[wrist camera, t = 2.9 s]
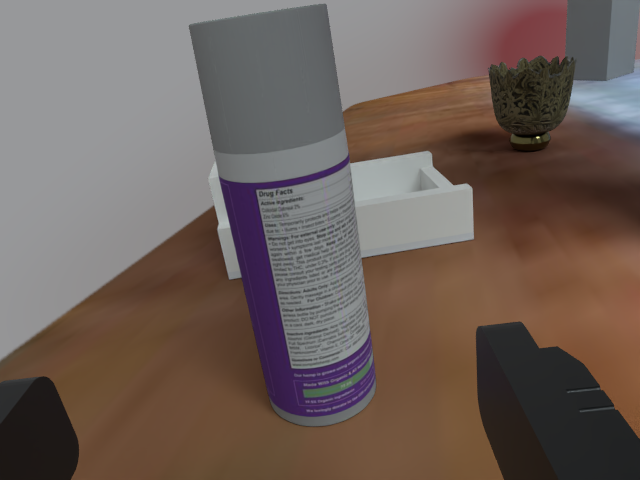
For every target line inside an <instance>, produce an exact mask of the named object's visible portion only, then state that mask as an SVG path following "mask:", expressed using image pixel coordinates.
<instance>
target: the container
mask: <svg viewBox="0 0 640 480" xmlns="http://www.w3.org/2000/svg"><path fill="white" fill-rule="evenodd" d="M189 29H190V34H191V39H192V44H193V49H194V54H195V59H196V64H197V69H198V74H199V79H200V84H201V89H202V94H203V99H204V104H205V109H206V114H207V119H208V124H209V129H210V134H211V139H212V144H213V150H214V155H215V159H216V165H217V170H218V176H219V181H220V185H221V189H222V194H223V198H224V203H225V207H226V211H227V216H228V220H229V225H230V229H231V233H232V238H233V242H234V247H235V251H236V255H237V260H238V264H239V268H240V273H241V277H242V282H243V286H244V290H245V295H246V299H247V304H248V308H249V312H250V317H251V321H252V325H253V330H254V334H255V339H256V343H257V347H258V352H259V356H260V361H261V365H262V369H263V374H264V378H265V383H266V387H267V391H268V395H269V399H270V403H271V405H272V407H273V409H274V411H275V412H276V413H277V414H278V415H279V416H281V417H282V418H284V419H285V420H287V421H289V422H292V423H294V424H298V425H303V426H327V425H331V424H335V423H339V422H342V421H344V420H347V419H349V418H351V417H353V416H354V415H356V414H357V413H359V412H360V411H361V410H363V409H364V408H365V407H366V406H367V405H368V403H369V402H370V401H371V399H372V398H373V395H374V393H375V390H376V377H375V367H374V359H373V350H372V342H371V334H370V325H369V317H368V309H367V300H366V292H365V284H364V275H363V267H362V259H361V250H360V242H359V234H358V225H357V217H356V209H355V201H354V192H353V184H352V176H351V167H350V159H349V152H348V146H347V139H346V133H345V126H344V119H343V112H342V106H341V99H340V92H339V85H338V79H337V72H336V65H335V58H334V52H333V46H332V39H331V31H330V25H329V18H328V11H327V5H326V4H318V5H310V6H304V7H296V8H290V9H282V10H275V11H269V12H262V13H256V14H249V15H244V16H237V17H230V18H225V19H218V20H212V21H206V22H200V23H194V24H190V25H189Z"/></svg>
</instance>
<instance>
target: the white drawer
mask: <svg viewBox="0 0 640 480" xmlns="http://www.w3.org/2000/svg"><path fill="white" fill-rule="evenodd" d="M350 167H351V176H352V184H353V192H354V201H355V209H356V217H357V225H358V234H359V242H360V250H361V258H363V257H369V256H375V255H381V254H387V253H394V252H400V251H406V250H412V249H418V248H424V247H430V246H436V245H442V244H448V243H454V242H460V241H466V240H472V239H474V229H473V191H472V187H471V186H469V185H468V184H461V185H455V186H454V185H452V184H451V183H450V182H449V181H448V180H447V179H446V178H445V177H444V176H443V175H442V174H441V173H439V172H438V171H437V170H436V169H435V168H434V167H433V164H432V154H431V153H430V152H429V151H425V152H419V153H412V154H406V155H400V156H394V157H388V158H381V159H375V160H369V161H363V162H356V163H350ZM208 180H209V184H210V188H211V192H212V197H213V201H214V205H215V210H216V214H217V218H218V222H219V225H218V229H217V230H218V235H219V239H220V243H221V247H222V251H223V256H224V260H225V264H226V268H227V272H228V277H229V280H230V279H236V278H242V277H241V273H240V268H239V264H238V260H237V255H236V251H235V247H234V242H233V238H232V233H231V229H230V225H229V220H228V216H227V211H226V207H225V203H224V198H223V194H222V189H221V185H220V181H219V176H218V170H217V165H216V160H215V163H214V165H213V168H212V171H211V173H210V175H209V178H208Z"/></svg>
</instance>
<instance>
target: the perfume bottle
mask: <svg viewBox="0 0 640 480" xmlns="http://www.w3.org/2000/svg"><path fill="white" fill-rule="evenodd" d="M639 8H640V0H568V6H567V28H566V52H565V57H566V56H568V57H569V60H570V61H571V58H572V57H573V58H574V61H575V59H576V58H577V62H576V64H575V65H576V67H575V73H574V79H573V80H600V81H607V80H610V79H613V78H617V77H620V76H623V75H626V74H629V73H633V72H634V61H635V51H636V39H637V29H638V19H639Z"/></svg>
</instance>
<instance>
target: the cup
mask: <svg viewBox="0 0 640 480" xmlns="http://www.w3.org/2000/svg"><path fill="white" fill-rule="evenodd" d="M551 62H552V63H551ZM551 62H550V63H551V64H550V63H548V61H547V60H546V59H545V58H544V57H543V56H538V57H536V58H535V59H533V60H532V61H530V62H528V61H527V59H525V58H521V59H520V60H519V62H518V63H519V65H517V67H518V68H517V69H514V68H511V69H510V70H508V69H507V66H506V64H505V63H503V62H501V63H500V65H499V67H498V66H496V65H491V67H490V69H489V68H488V69H489V73H490V74H489V78H490V86H491V94H492V101H493V108H494V112H495V116H496V119H497V121H498V123H499V125H500V126H501V127H502V128H503V129H504V130H505V131H507V132H509V133H512V134H511V137H510V140H509V141H510V144H511V146H512V147H513V148H514V149H517V150H521V151H535V150H540V149H543V148H545V147H546V146H547V145H548V144H549V142H550V140H551V137H550V134H549V132H548V131H551V130H553V129H554V128H556V127H557V126H558V125H559V124H560V123H561V122H562V120H563V119H564V117H565V115H566V112H567V109H568V106H569V101H570V96H571V91H572V85H573V79H574V73H575V67H576V65H575V64H576V62H577V58H576V59H575V61H574V58H573V57H572V58H571V61H570V60H569V57H568V56H566V57H565V58H564V59H563V60H562V62H561V64H559V57H558V56H557V57H555V58H553V59H552V61H551Z"/></svg>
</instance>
